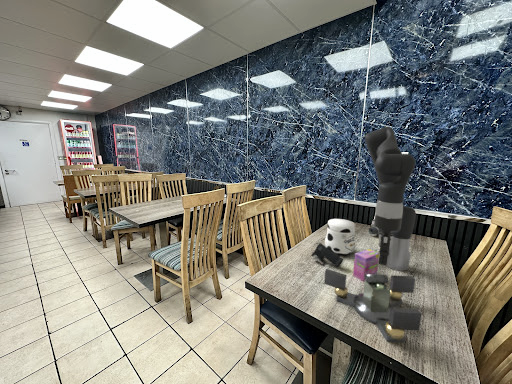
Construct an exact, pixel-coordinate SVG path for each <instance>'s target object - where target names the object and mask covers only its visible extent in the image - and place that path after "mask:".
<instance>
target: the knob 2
mask: <svg viewBox="0 0 512 384" xmlns="http://www.w3.org/2000/svg"><path fill="white" fill-rule="evenodd" d="M421 321H422V312H421V311H420V310H419V309H418V308H402V307H395V308H391V309H390V316H389V321H387V322H386V328H385V331H386V333H387V334H388V335H389V336H391V337H392V338H394V339H397V340H402V339H403V338H404V337H405V331H418V332H419V331H420V327H421Z"/></svg>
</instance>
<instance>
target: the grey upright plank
mask: <svg viewBox="0 0 512 384" xmlns="http://www.w3.org/2000/svg"><path fill="white" fill-rule="evenodd" d="M323 285H327V286H330V287H333V288H334V293H335V295H336V296H337V295H338V296H340V297H346V296H347V292H349V291H348V290H349V289H348V287H346V286H347V274H345V273H342V272H338V271H334V270H331V269H329V268H326V269H325V271H324V284H323Z"/></svg>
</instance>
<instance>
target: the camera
mask: <svg viewBox="0 0 512 384" xmlns="http://www.w3.org/2000/svg"><path fill="white" fill-rule="evenodd" d="M374 221H375V219H373V220H372V222H371V226H370V227H369V228H368V230H367V231H368V233H369V235H376V236H378V237H379V232H380V231H382V229H379V228H377V227H375V225H374Z"/></svg>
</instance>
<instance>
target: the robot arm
mask: <svg viewBox="0 0 512 384" xmlns="http://www.w3.org/2000/svg"><path fill="white" fill-rule="evenodd" d="M364 140H365V141H364V142H365V144H366V147H367V150H368V153H369V155H370V157H371V161H372V163H373V166H374V170H375V172H376V176H377V180H378V184H379V186H378V193H377V201H376V205H375V213H374V220H375V221H374V225H375V227H377V228H379V229H382V231H380V232H379V236H378V247H379V251H378V253H379V259H378V264H379V265H381V266H387V268H390V269H392V270H394V271H399V272H400V271H401V272H402V271H406V270H409V267H410V259H411V251H410V244H411V237H412V234H413V231H414V227H415V224H416V223H415V221H416V218H417V217H416V216H417V213H416V210H415V208H413V207H410V206H405V205H404V196H405V190H406V187H407V185H408V182H409V179H410V178H411V175H412V174H413V172H414V169H415V168H416V167H415V166H416V159H415V157H414V156H413V155H412V154H410V153H403V152H402V151H401V149H400V148H399V146H398V141H397V136H396V134H395V132H394V129H393V128H392V127H390V126H385V127H382V128H378V129H376V130H373V131H371V132H368V133H366V134H365V135H364Z"/></svg>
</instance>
